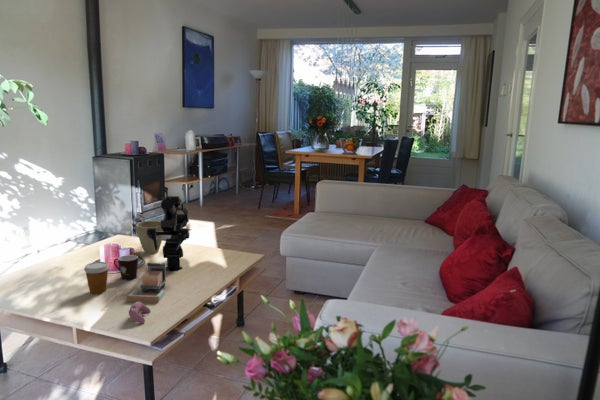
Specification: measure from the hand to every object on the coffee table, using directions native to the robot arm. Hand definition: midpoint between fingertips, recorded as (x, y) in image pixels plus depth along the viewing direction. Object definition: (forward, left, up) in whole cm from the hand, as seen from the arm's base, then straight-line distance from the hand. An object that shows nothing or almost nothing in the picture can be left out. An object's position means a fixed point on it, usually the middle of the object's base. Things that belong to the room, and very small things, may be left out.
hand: (166, 250), depth 201 cm
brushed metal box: (+8, -12, -13) cm, 19 cm away
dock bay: (+13, -18, -14) cm, 26 cm away
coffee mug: (-14, -12, -14) cm, 23 cm away
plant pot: (-42, +17, -14) cm, 48 cm away
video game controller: (+28, -29, -14) cm, 43 cm away
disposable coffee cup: (-7, -29, -14) cm, 33 cm away
